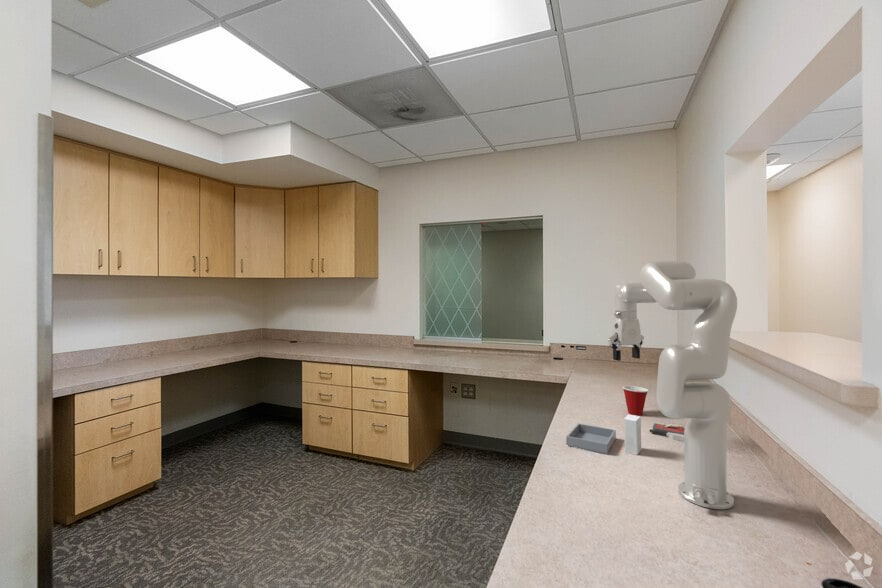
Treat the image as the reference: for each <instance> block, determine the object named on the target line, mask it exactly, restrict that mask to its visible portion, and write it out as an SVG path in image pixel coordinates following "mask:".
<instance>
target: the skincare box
mask: <svg viewBox="0 0 882 588" xmlns="http://www.w3.org/2000/svg"><path fill="white" fill-rule="evenodd" d="M641 420H642V419H641V416H635V415H631V414H629V413H628V414H627V415H626V416H625V417H624V418H623V421H624V422H623V423H624V425H623V427H624V428H623V429H624V431H623V432H624V452H625V453H627V454H632V455H635V456H638V455H639V454H640V452H641V450H642V421H641Z"/></svg>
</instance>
